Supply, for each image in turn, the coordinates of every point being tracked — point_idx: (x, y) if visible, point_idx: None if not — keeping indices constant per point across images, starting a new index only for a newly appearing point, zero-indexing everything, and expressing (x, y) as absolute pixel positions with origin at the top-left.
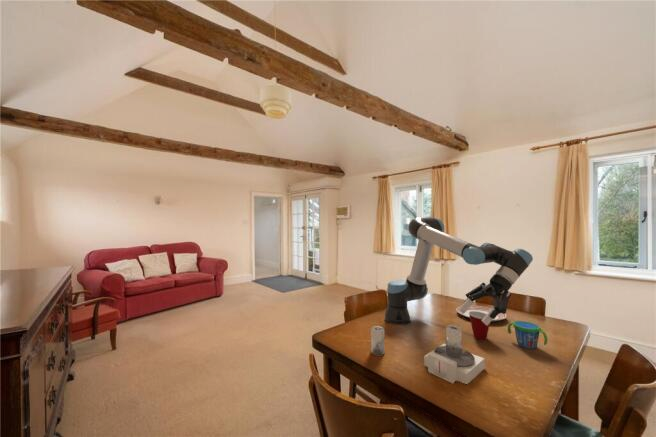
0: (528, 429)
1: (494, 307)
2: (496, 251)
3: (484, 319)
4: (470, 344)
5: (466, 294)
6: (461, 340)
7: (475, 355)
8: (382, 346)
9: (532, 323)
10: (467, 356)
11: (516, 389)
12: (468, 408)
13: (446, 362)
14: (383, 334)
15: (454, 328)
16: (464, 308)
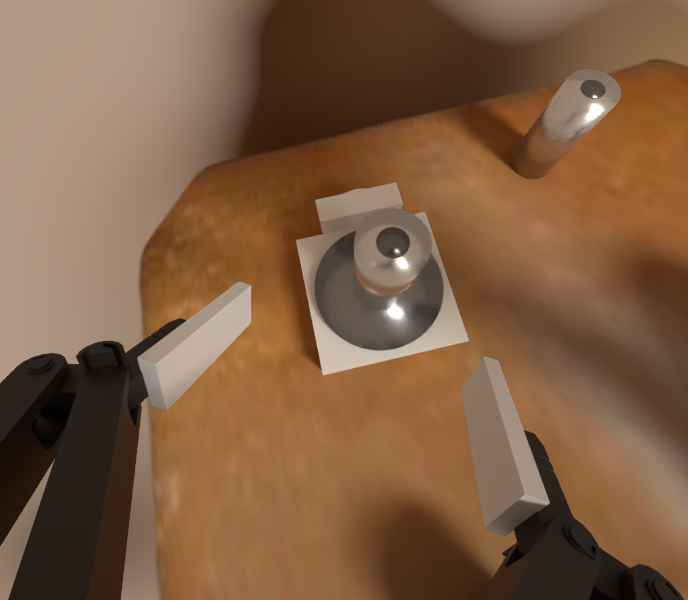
0: (155, 236)
1: (101, 348)
2: None
3: (228, 290)
4: (467, 505)
5: (664, 591)
6: (356, 275)
7: (351, 365)
8: (527, 143)
9: None
10: (347, 314)
11: None
12: (250, 189)
13: (335, 196)
14: (557, 113)
15: (382, 236)
16: (477, 398)
